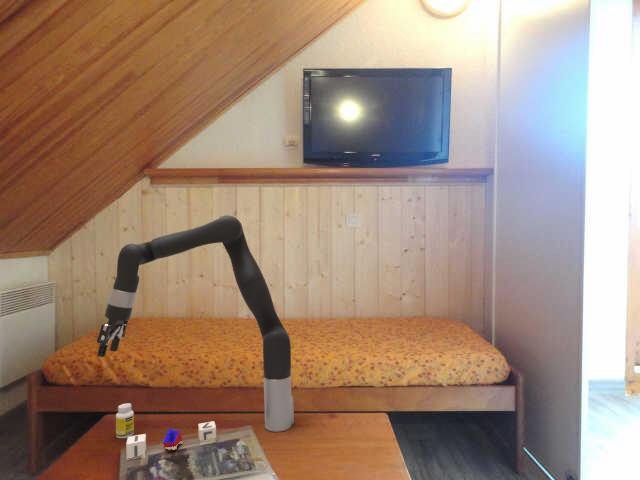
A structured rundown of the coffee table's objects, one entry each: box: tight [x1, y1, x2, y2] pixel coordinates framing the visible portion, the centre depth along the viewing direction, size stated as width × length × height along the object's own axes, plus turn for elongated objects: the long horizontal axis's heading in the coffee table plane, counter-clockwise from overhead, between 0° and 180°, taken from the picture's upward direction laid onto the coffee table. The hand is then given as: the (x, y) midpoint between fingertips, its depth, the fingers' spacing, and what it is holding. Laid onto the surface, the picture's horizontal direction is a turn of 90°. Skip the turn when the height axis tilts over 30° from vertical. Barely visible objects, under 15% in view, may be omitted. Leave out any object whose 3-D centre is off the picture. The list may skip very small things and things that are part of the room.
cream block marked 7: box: [197, 420, 217, 440], centre depth 128 cm, size 5×5×5 cm
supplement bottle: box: [115, 402, 135, 439], centre depth 133 cm, size 5×5×10 cm
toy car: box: [162, 428, 183, 448], centre depth 123 cm, size 4×4×8 cm
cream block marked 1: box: [125, 433, 147, 460], centre depth 120 cm, size 5×5×5 cm
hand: (107, 353), depth 129 cm, fingers open, 8 cm apart
